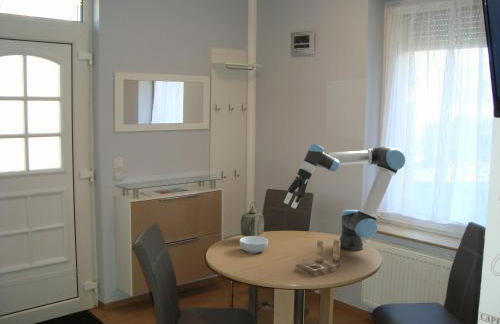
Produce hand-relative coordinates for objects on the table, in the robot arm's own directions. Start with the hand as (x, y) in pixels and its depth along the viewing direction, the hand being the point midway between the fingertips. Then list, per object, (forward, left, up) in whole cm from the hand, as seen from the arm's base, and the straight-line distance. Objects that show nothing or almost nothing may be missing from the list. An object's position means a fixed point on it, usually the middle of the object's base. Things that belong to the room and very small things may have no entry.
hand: (289, 205), depth 274 cm
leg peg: (-15, +22, -30) cm, 40 cm away
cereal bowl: (+7, -23, -31) cm, 39 cm away
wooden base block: (-1, +22, -30) cm, 38 cm away
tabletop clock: (-5, -41, -31) cm, 51 cm away
